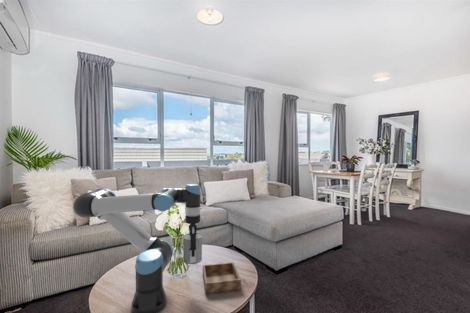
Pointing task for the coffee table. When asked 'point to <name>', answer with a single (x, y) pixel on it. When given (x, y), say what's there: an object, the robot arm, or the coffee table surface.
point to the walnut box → (221, 278)
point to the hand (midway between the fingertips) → (192, 257)
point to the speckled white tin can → (188, 245)
